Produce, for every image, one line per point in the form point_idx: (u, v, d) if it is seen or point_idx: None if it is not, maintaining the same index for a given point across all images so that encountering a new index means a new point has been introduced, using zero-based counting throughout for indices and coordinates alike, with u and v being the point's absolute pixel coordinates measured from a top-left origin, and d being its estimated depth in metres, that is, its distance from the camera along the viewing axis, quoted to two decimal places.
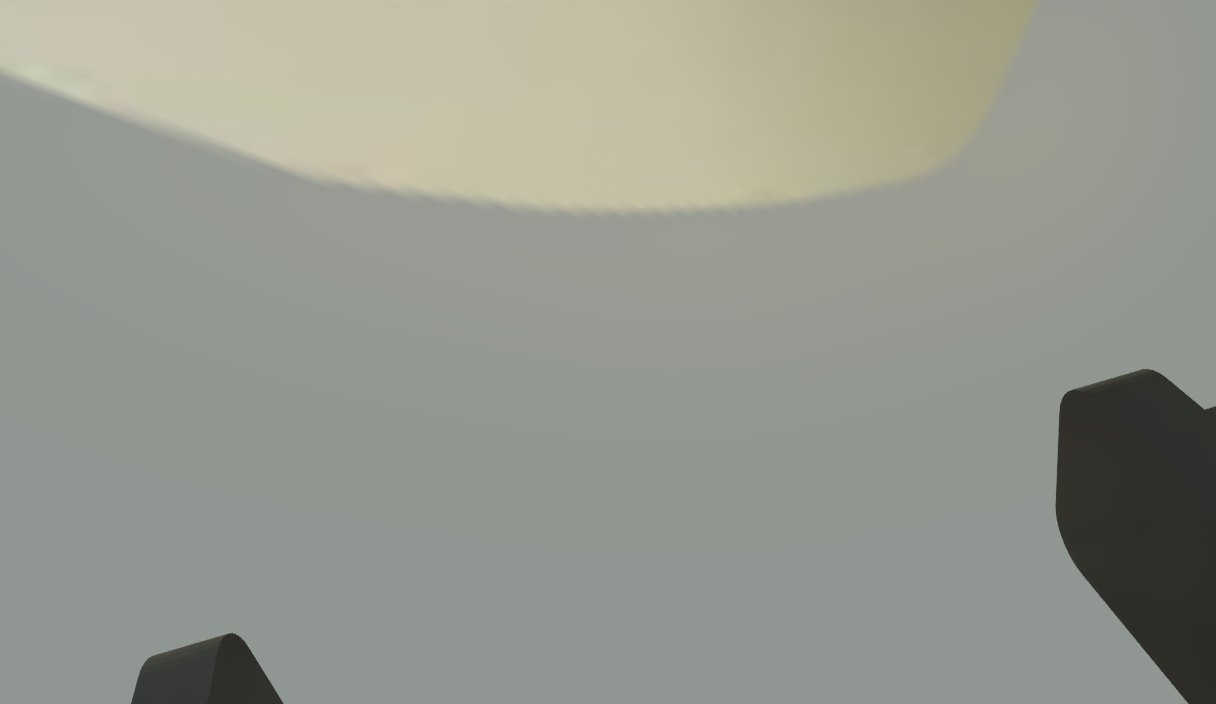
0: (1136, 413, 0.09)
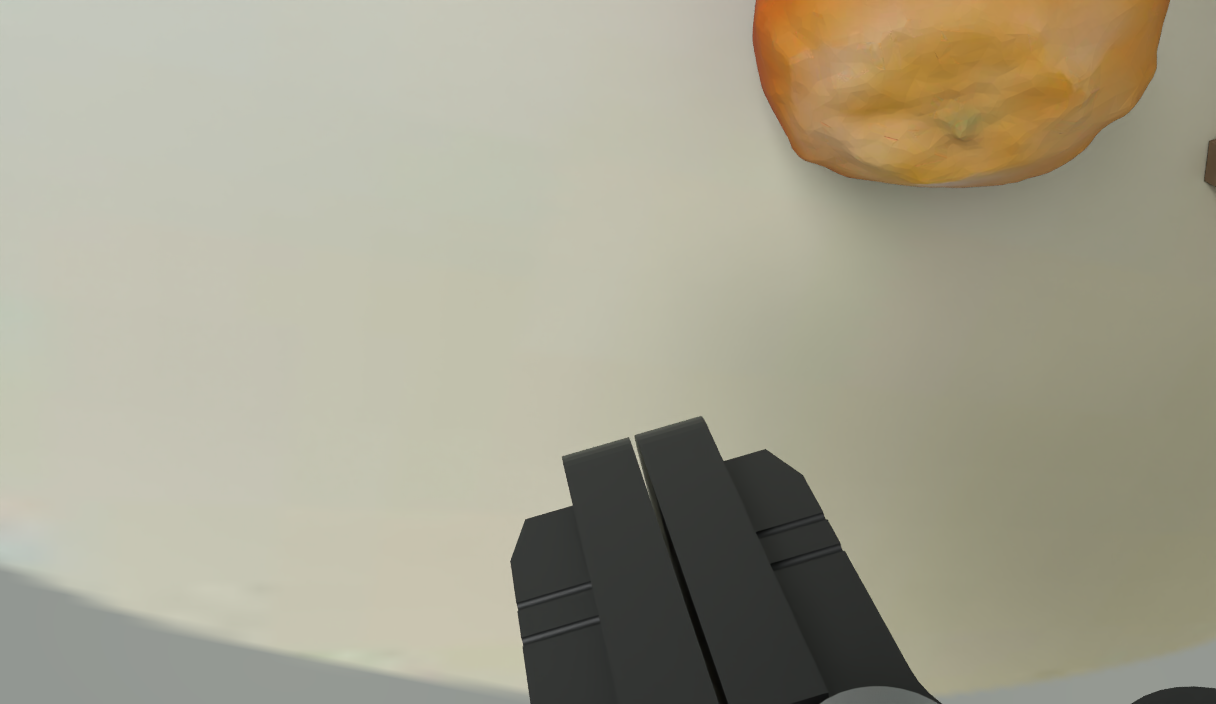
0: (666, 459, 0.09)
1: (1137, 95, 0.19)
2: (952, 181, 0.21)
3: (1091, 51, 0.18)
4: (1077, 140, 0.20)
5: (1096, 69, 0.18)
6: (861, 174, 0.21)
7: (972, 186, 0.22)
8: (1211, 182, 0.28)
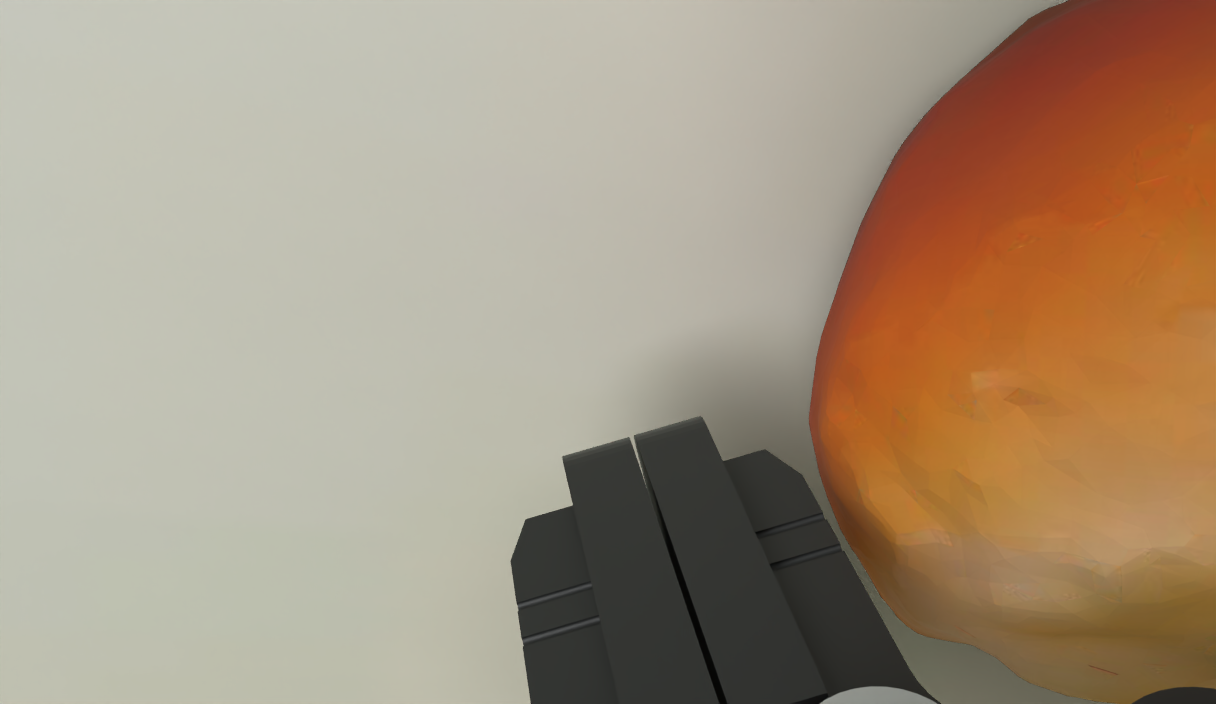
0: (665, 459, 0.09)
1: None
2: None
3: None
4: None
5: None
6: None
7: None
8: None
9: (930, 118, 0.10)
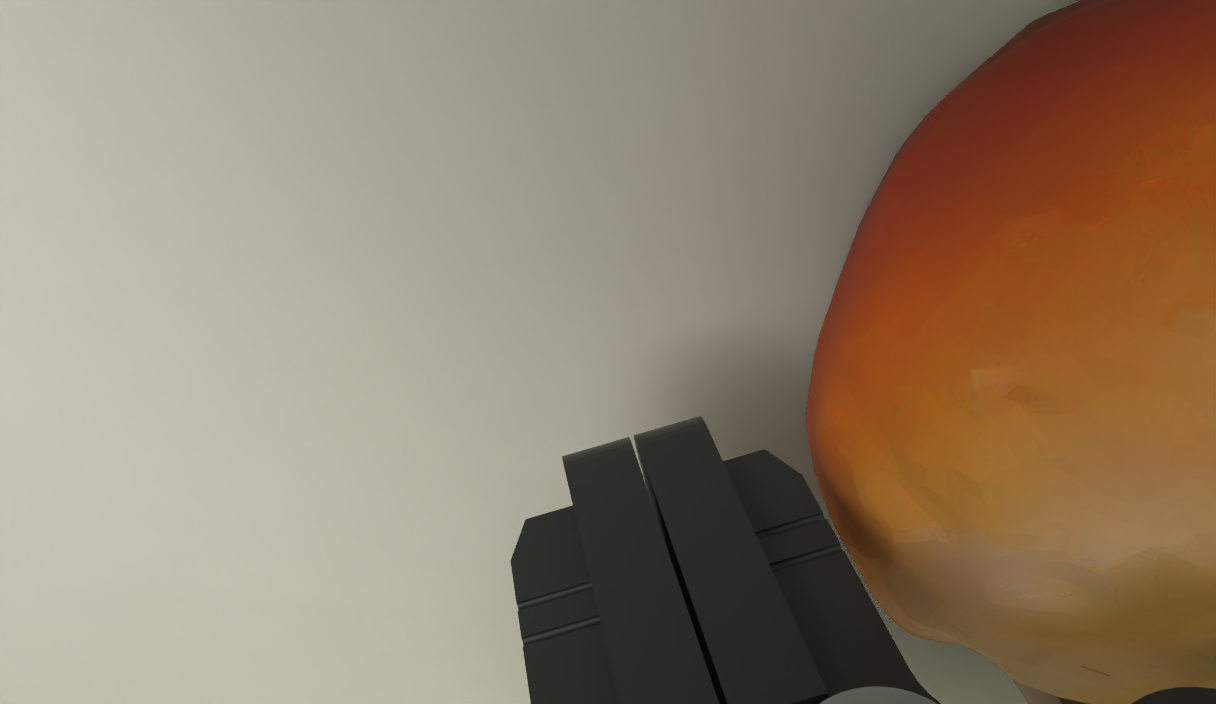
0: (665, 459, 0.09)
1: None
2: None
3: None
4: None
5: None
6: None
7: None
8: None
9: (932, 119, 0.10)
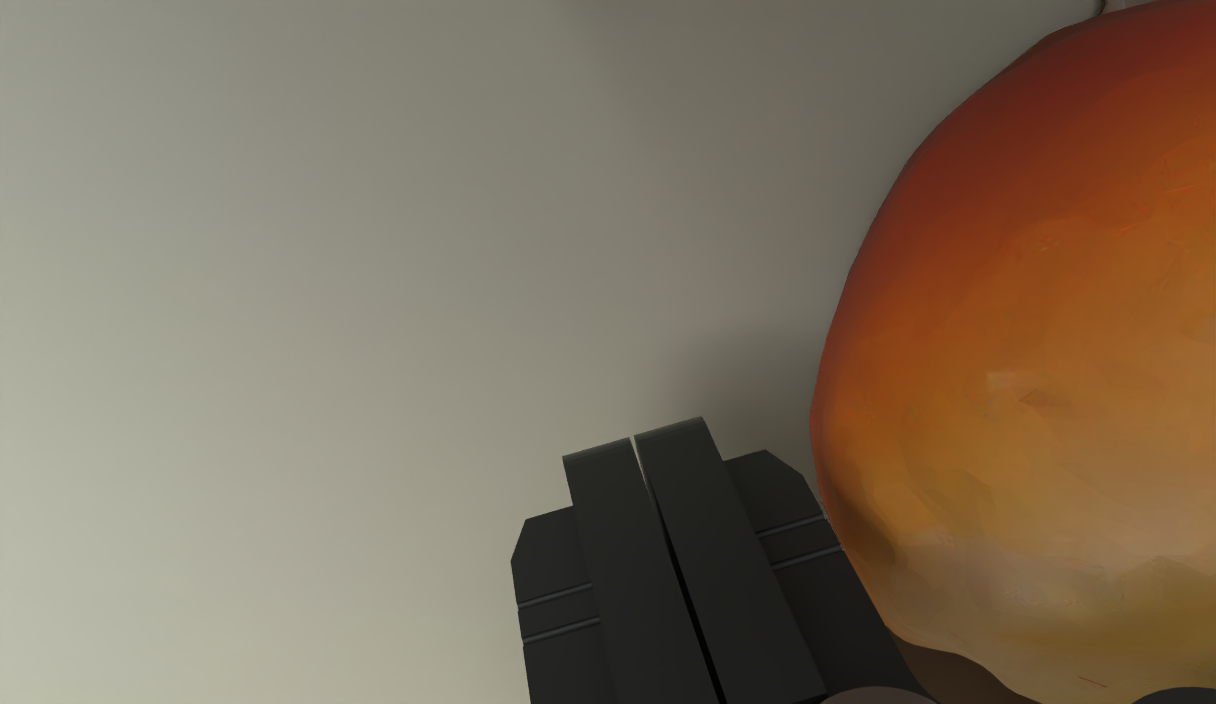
0: (665, 459, 0.09)
1: None
2: None
3: None
4: None
5: None
6: None
7: None
8: None
9: (947, 125, 0.10)
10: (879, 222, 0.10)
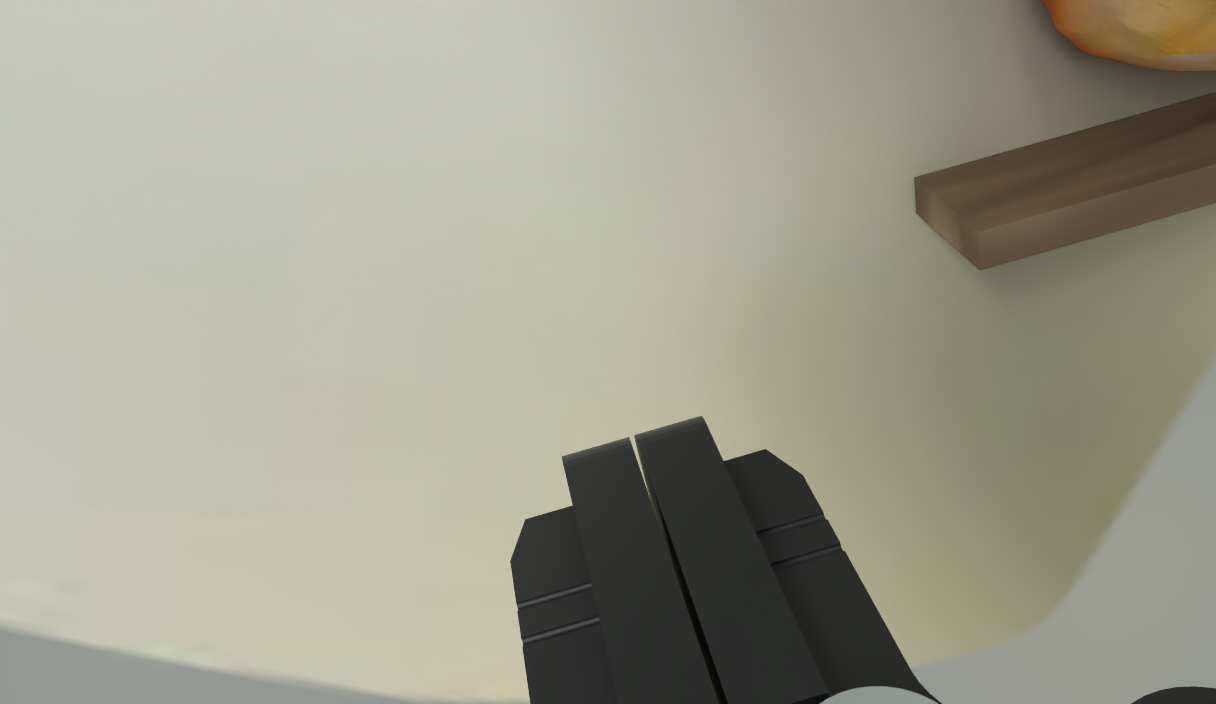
0: (666, 459, 0.09)
1: None
2: (1202, 53, 0.24)
3: None
4: None
5: None
6: (1118, 47, 0.25)
7: (1207, 66, 0.25)
8: (920, 215, 0.31)
9: None
10: None
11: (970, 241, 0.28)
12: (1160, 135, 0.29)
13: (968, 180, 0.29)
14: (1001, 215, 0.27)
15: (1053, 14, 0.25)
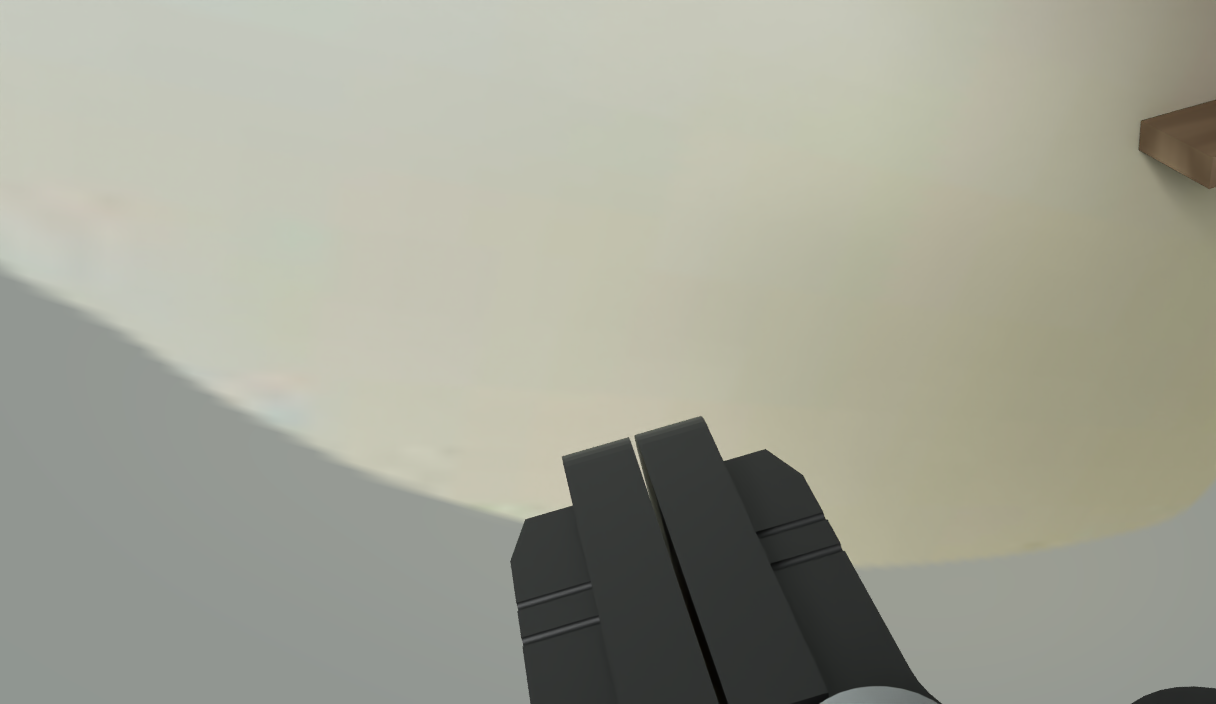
0: (666, 459, 0.09)
1: None
2: None
3: None
4: None
5: None
6: None
7: None
8: (1143, 150, 0.39)
9: None
10: None
11: (1201, 166, 0.36)
12: None
13: (1189, 121, 0.37)
14: None
15: None
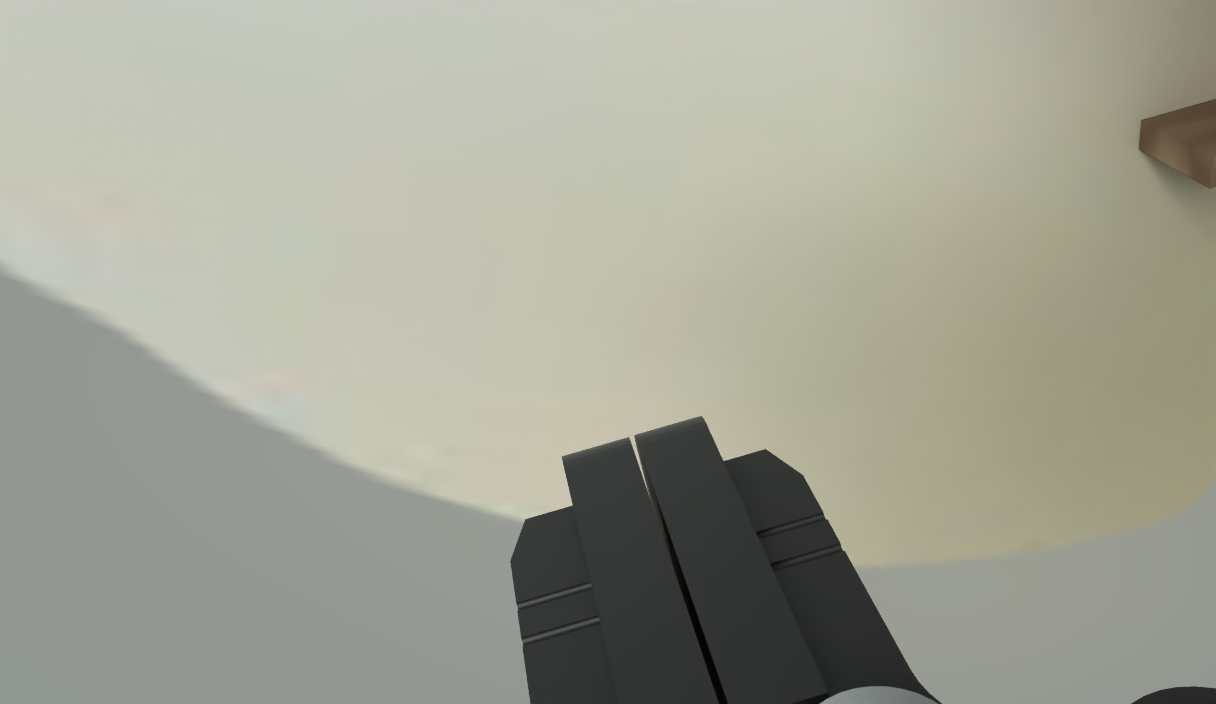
0: (666, 459, 0.09)
1: None
2: None
3: None
4: None
5: None
6: None
7: None
8: (1143, 150, 0.39)
9: None
10: None
11: (1201, 166, 0.36)
12: None
13: (1189, 121, 0.37)
14: None
15: None
